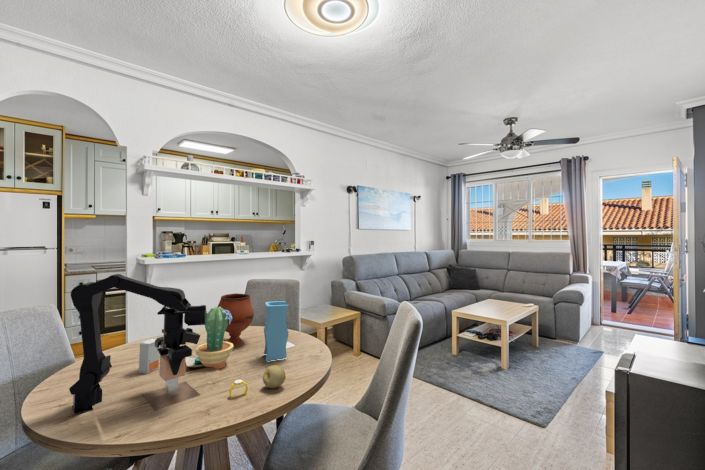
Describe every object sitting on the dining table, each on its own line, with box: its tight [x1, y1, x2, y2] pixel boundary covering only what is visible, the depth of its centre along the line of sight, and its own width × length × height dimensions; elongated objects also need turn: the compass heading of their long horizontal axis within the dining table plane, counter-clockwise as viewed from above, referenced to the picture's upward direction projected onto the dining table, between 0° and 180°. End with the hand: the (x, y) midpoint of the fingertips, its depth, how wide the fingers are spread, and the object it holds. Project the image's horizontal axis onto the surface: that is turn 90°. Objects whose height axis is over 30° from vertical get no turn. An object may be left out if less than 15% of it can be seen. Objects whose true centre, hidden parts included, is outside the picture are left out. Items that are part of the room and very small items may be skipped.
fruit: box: [262, 365, 287, 389], centre depth 117 cm, size 8×8×8 cm
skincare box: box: [138, 338, 160, 375], centre depth 130 cm, size 6×4×12 cm
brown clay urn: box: [216, 292, 255, 348], centre depth 164 cm, size 19×19×25 cm
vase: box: [263, 300, 290, 361], centre depth 147 cm, size 10×10×25 cm
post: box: [164, 377, 179, 398], centre depth 108 cm, size 3×3×7 cm
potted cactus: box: [195, 306, 234, 370], centre depth 136 cm, size 15×15×25 cm
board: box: [141, 381, 201, 411], centre depth 108 cm, size 14×14×1 cm
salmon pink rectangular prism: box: [158, 354, 186, 382], centre depth 108 cm, size 6×6×7 cm
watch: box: [228, 379, 249, 399], centre depth 109 cm, size 6×3×6 cm, turn 124°
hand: (171, 371), depth 108 cm, fingers closed on salmon pink rectangular prism, 6 cm apart
